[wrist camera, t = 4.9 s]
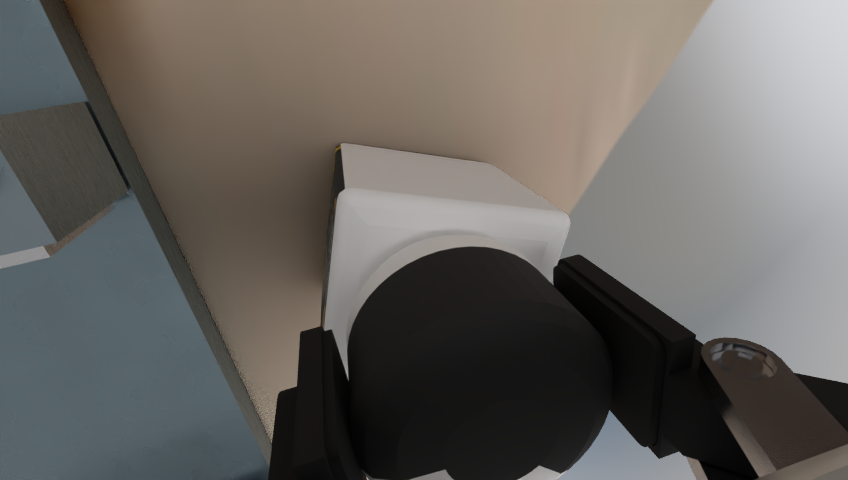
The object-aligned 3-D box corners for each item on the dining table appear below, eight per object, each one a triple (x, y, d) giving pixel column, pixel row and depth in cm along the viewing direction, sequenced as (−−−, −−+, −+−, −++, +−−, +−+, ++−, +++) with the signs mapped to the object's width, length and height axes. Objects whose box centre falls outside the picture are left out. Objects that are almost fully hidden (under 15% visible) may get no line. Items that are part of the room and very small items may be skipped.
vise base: (-432, 65, 11) (-1255, 65, 5) (62, 0, 13) (-129, -52, 7) (65, 568, 22) (-21, 750, 16) (291, 487, 24) (288, 622, 18)
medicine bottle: (335, 139, 17) (343, 284, 6) (493, 162, 19) (715, 304, 8) (321, 289, 19) (309, 574, 9) (461, 295, 21) (593, 538, 11)
